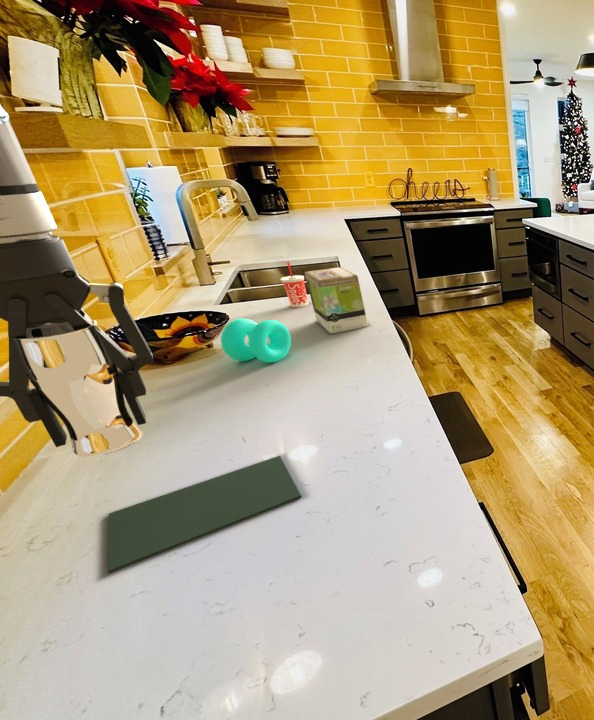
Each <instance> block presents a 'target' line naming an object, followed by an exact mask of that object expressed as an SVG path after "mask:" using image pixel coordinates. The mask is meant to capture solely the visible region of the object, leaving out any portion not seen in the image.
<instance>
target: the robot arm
mask: <svg viewBox="0 0 594 720" xmlns="http://www.w3.org/2000/svg"><path fill="white" fill-rule="evenodd" d="M57 229H58V226H57V224H56V222H55V220H54V216H53V215H52V212H51V210H50V208H49V205H48V204H47V201H46V199H45V197H44V195H43V192H42V191H40V187H39V186H38V183H37V180H36V179H35V176H34V174H33V171H32V170H31V167H30V165H29V162H28V160H27V158H26V155H25V154H24V150H23V149H22V146H21V144H20V142H19V140H18V137H17V135H16V133H15V130H14V128H13V126H12V124H11V121H10V115H9V113H8V112H7V111H6V109H5V108H3V106H2V105H1V103H0V319H1V320H3V321H5V322H7V337H8V381H0V397H5V398H9V399H12V401H14V402H15V405H16V406H17V408H18V410H19V411H20V413H21V415H22V417H23V418H24V420H25V421H26V422H28V423H31V424H32V423H34V422H35V423H36V422H39V421H41V423H42V424H43V426H44V428H45V430H46V432H47V433H48V435H49V437H50V439H51V440H52V442H53V445H54V446H55V448H59V447H62V446H65V445H66V444H67V440H68V439H67V437H68V435H67V433H66V431H65V429H64V427H63V425H62V424H61V422H60V420H59V417H58V415H57V414H56V412H55V411H54V410H53V409H52V408H51V407H50V406H49V405H48V403H47V402H46V401H45V400H44V399H43V398H42V396H41V395H40V394H39V393H38V391H37V390H36V389H35V387H33V388H30V384H31V382H30V380H29V378H28V377H27V373H26V371H25V369H24V367H23V365H22V362H21V360H20V357H19V355H18V352H17V349H16V346H15V344H14V341H13V339H12V338H15V337H17V338H29V330H30V328H34V327H39V326H42V325H44V324H47V323H65V322H68V323H69V324H70V325H72V326H73V327H74V328H75V329H77V330H79V329H82V328H85V327H88V326H90V325H92V320H93V319H91V317H90V315H89V314H87V312H85V310H83V309H82V308H83V306H84V304H85V303H86V300H87V299H88V297H89V295H90V294H93V295H95V296H96V297H98V300H99V301H100V302H102V303H104V304H108V306H109V308H110V311H111V313H112V315H113V316H114V318H115V320H116V322H117V323H118V325H119V327H120V328H121V331H122V332H123V334H124V336H125V338H126V340H127V341H128V343H129V345H130V346H131V348H132V350H133V352H134V354H135V355H133V356H131V357H130V355H129V354H128V353H126V351H124V349H122V347H120V346H119V344H117V342H115V341H114V340H113V339H112V338H111V337H110V336H109V335H108V334H107V333H106V332H105V331H104V330H103V329H102V328H101V327H100V326H98V327H99V329H100V330H101V332H100V331H98V330H96V329H95V330H96V332H97V333H98V335H99V337H100V338H101V340H102V342H103V344H104V345H105V347H106V349H107V351H108V353H109V355H110V357H111V359H112V362H113V363H114V364H115V365H116V366H117V367H118V369H119V373H120V375H119V376H118V377H117V381H118V383H119V385H120V388H121V390H122V392H123V395H124V399H125V401H126V402H127V405H128V407H129V409H130V411H131V413H132V415H133V419H134V421H135V423H136V424H137V425H138V426H142V425H145V424H147V419H146V414H145V412H144V409H143V407H142V405H141V403H140V400H139V397H143V396H146V395H147V387H146V384H145V382H144V380H143V377H142V375H141V373H140V370H141V368H143V367H145V366H147V365H152V364H153V363H154V355H153V351H152V350H151V348H150V346H149V345H148V342H147V340H146V339H145V337H144V335H143V334H142V332H141V330H140V328H139V326H138V325H137V323H136V321H135V319H134V318H133V316H132V313H131V312H130V310H129V308H128V306H127V305H126V302H125V290H124V285H123V284H122V283H120V282H117V281H113V282H110V283H95V282H90V281H88V280H87V279H86V278H85V277H83V276H82V275H81V274H80V273H79V272H78V269H77V268H76V265H75V263H74V261H73V259H72V256H71V255H70V253H69V249H68V248H67V245H66V243H65V241H64V239H63V237H60V236H58V235H56V234H53V233H52V232H54V231H56V230H57Z"/></svg>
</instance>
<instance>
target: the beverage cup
mask: <svg viewBox="0 0 594 720" xmlns="http://www.w3.org/2000/svg"><path fill="white" fill-rule="evenodd" d="M286 264H287V267H288V271H289V274H290V275H288V276H284V277H281V278H280V282H281V283H282V284H283V287H284V290H285V292H286V296H287V298H288V301H289V303H290V306H291V308H302V307H306V306H308V305H309V299H308V296H307V295H308V293H307V290H306V285H305V275H300V274H298V275H297V274H296V275H293V272H292V268H291V265H290V262H289V261H286Z"/></svg>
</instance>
